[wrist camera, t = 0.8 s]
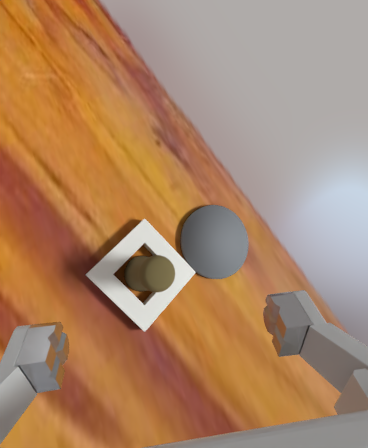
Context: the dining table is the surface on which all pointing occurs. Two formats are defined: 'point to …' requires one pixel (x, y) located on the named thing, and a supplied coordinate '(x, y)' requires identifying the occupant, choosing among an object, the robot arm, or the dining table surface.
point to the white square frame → (120, 293)
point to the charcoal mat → (214, 242)
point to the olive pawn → (149, 273)
